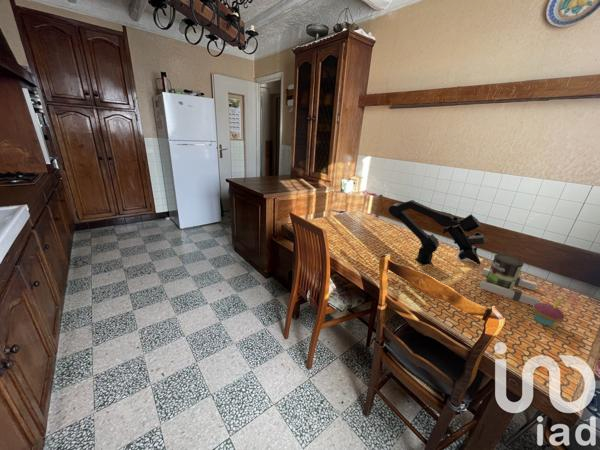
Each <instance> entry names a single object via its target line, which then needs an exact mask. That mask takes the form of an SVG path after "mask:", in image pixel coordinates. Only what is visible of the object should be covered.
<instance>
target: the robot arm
mask: <svg viewBox="0 0 600 450" xmlns="http://www.w3.org/2000/svg"><path fill="white" fill-rule="evenodd" d="M407 210H413V211H414V212H417V213H419V214H421V215H423V216H426V217H428V218H430V219H432V220H434V222H436V224H438V225H440V226H441V227H443V231H442V234H443V235H444V234H446V233H448V234H449V235H450V237H451V238H452V240H453V243H454V245H457V246H458V247H459V250H460V253H459V256H458V257H459V258H460V259H461V260H463V259H465V258H468V259H469V260H470V261H471V262H473V263H475V264H477V265H481V260H480V257H479V256H478V253H477V252H478V251H477V250H478V248H479V247H478V246H475V245H484V244H486V239H485V235H484V234H482V233H481V232H479V231H478V232H475V233H474V235H469V234H467V233H469V232H472V231H474V230H477V229H479V228H480V227H482V225H481V222H480V221H479V219H477V218H476V217H475V216H474V215H473V214H469V215H467V216H466V217H463V218H460V217H456V216H454V215H453V214H452V213H450V212H446V211H440V210H436V209H433V208H431V207H428V206H426V205H424V204H421V203H420V202H417V201H415V200H414V199H410V200H408V201H405V202H401V203H399V202H398V203H397V202H396V203H393V204H392V205H391V206H389V208H388V213H389V214H390V216H392V217H393V218H394V219H398V220H399V221H400V222H401V223H402V224H403V225H404V226H406V228H407V229H408V230H409V231H410V232H411V233H413V234H414V235H415V237H416V238H418V240H419V241H420V244H421V247H420V248H419V249H418V254H417V257H415V258H414V260H415V261H417V262H418V263H419V264H420V265H422V266H425V265H433V262H432V261H433V260H432V259H433V256H434V255H433V253H435V252H436V251H437V249H439V246H440V241H438V240H439V239H438V238H437V237H436V236H435V235H434V234H433V233H432V234H428V233H426V232H425V231H424V229H422V228H421V227H420V226H419V225H418V224H417V223H416V222H415V220H413V219H412V218H411V217H410V216H409V215H408V213H407ZM466 232H467V233H466ZM474 246H475V247H474ZM462 250H463V251H462ZM461 260H460V261H461Z"/></svg>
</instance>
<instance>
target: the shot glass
mask: <svg viewBox="0 0 600 450" xmlns="http://www.w3.org/2000/svg"><path fill="white" fill-rule="evenodd" d="M462 251H463V250H462ZM459 253H460V250H459V246H458V249H457V253H456V259H457V260H458V261H461V262H468V261H469V260H470V259H468V258H465V259H463V260H461V259H460V258H459V257H458V256H459Z"/></svg>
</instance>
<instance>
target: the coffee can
mask: <svg viewBox="0 0 600 450" xmlns="http://www.w3.org/2000/svg"><path fill="white" fill-rule="evenodd" d="M524 265H525V263H524V261H523V260H521V259H520V258H518V257H514V256H512V255H508V254H505V253H497V254H495V255H494V257H493V261H492V263H491V265H490V268H489V269H490V271H489V273H488V276H486V279H485V280H484V281H485V282H488V283H491V284H495V285H498V286H501V287H504V288H507V289H510V290H513V289H514V287H515V285H514V284H515V282H516V280H517V277H518V276H520V273H521V270H522V268H523V266H524Z"/></svg>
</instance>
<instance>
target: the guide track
mask: <svg viewBox="0 0 600 450" xmlns="http://www.w3.org/2000/svg"><path fill="white" fill-rule="evenodd" d="M489 271H490V268H486V267H483V270H482V272H481V275H483V276H486V277H487V276H488V273H489ZM485 281H486V280H481V281H480V283H479V287H478V288H479V289H481V290H485V291H488V292H491V293H493V294H497V295H500V296H502V297H506V298H509V299H511V300H514V301H517V302H521V303H524V304H526V303H527V304H526V305H529V304H530V306H532V305H535V304H536V303H541V299H540V298H539V297H535V296H532V295H529V294H526V293H523V291H522V290H521V289H519V288H515V290H513V289H512V290H510V289H507V288H504V287H501V286H498V285H495V284H491V283H488V282H485ZM514 286H519V287H521V286H522V288H524V287H525V289H528V290H531V289H532V290H531V291H536V288H537V286H538V284H537V282H533V281H531V280H527V279H523V278H521V275H518V277H517V280H516V282H515V284H514Z"/></svg>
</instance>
